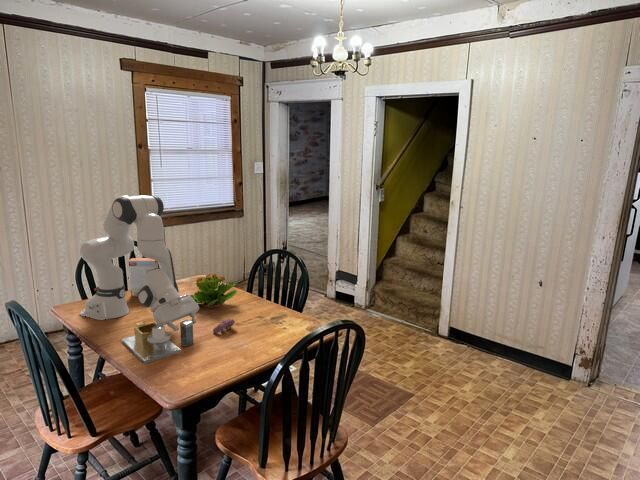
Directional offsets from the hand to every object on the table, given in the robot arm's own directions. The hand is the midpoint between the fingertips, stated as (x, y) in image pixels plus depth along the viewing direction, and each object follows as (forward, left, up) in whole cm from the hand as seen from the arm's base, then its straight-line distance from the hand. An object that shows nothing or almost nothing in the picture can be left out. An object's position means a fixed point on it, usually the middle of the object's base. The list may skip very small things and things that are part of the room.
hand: (186, 326), depth 182 cm
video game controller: (+10, +16, -8) cm, 21 cm away
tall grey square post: (0, 0, -8) cm, 8 cm away
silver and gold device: (-12, -7, -8) cm, 16 cm away
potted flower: (-9, +45, -8) cm, 46 cm away
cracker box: (-51, +47, -8) cm, 70 cm away
